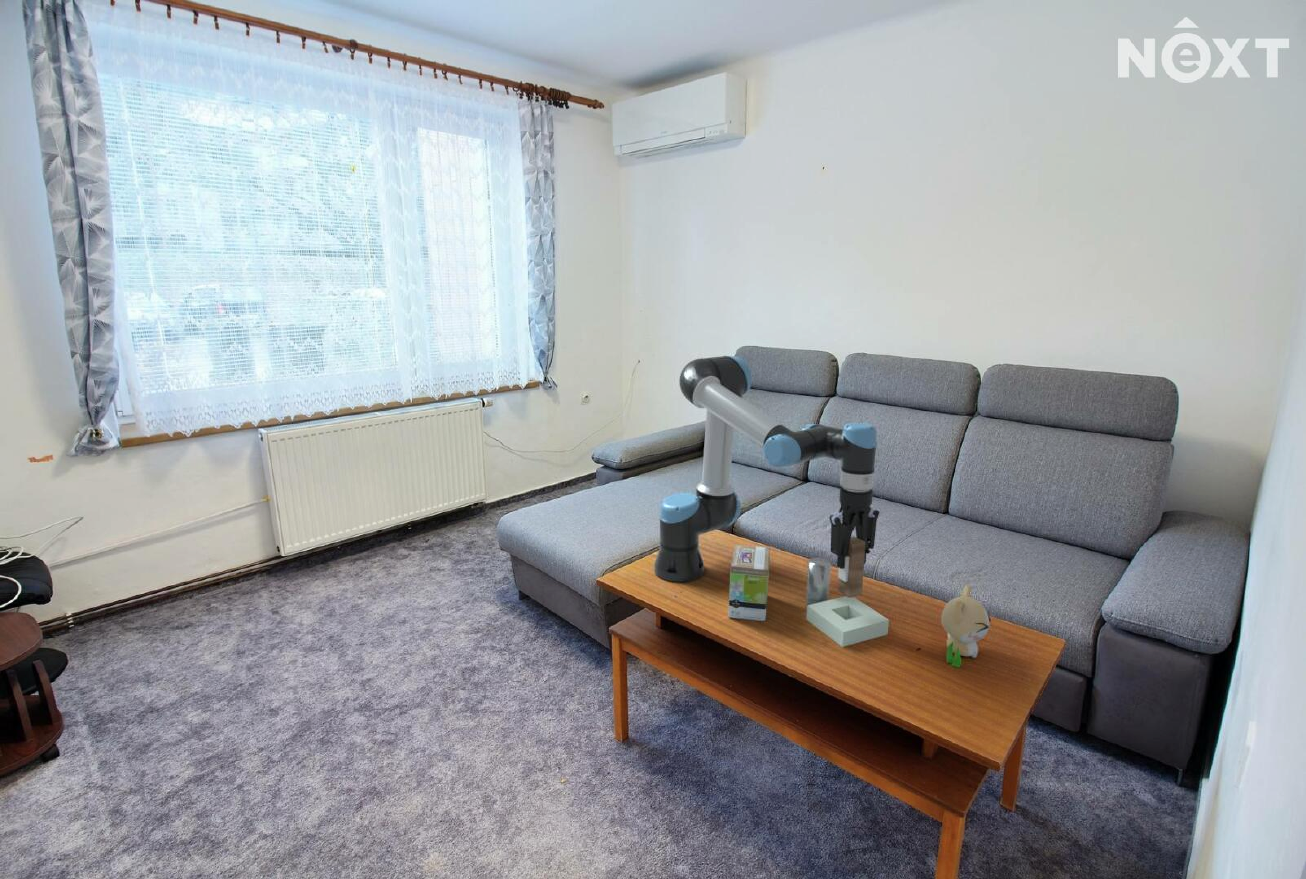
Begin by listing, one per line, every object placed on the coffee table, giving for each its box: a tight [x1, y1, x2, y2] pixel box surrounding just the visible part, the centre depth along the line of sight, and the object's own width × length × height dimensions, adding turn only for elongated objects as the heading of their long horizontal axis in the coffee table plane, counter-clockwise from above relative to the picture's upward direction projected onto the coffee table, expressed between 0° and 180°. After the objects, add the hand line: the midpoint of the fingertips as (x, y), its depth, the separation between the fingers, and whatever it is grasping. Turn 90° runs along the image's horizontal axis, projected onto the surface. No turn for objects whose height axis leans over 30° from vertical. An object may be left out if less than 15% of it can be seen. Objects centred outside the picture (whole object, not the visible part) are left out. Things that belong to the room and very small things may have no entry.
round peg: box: [805, 557, 832, 605], centre depth 167 cm, size 6×6×12 cm
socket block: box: [805, 595, 890, 648], centre depth 156 cm, size 14×14×4 cm
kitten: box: [940, 584, 992, 668], centre depth 143 cm, size 15×10×15 cm, turn 143°
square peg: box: [837, 535, 865, 598], centre depth 152 cm, size 4×4×14 cm
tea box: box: [728, 544, 771, 622], centre depth 165 cm, size 15×10×15 cm
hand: (850, 577), depth 153 cm, fingers closed on square peg, 4 cm apart
